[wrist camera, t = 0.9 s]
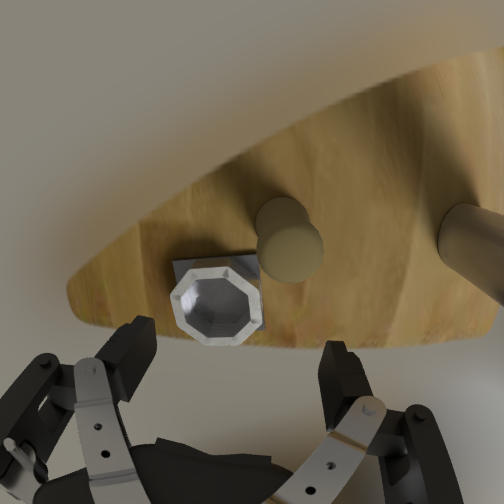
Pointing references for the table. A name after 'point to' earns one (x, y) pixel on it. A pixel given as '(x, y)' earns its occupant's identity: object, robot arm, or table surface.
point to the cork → (287, 241)
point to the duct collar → (218, 298)
